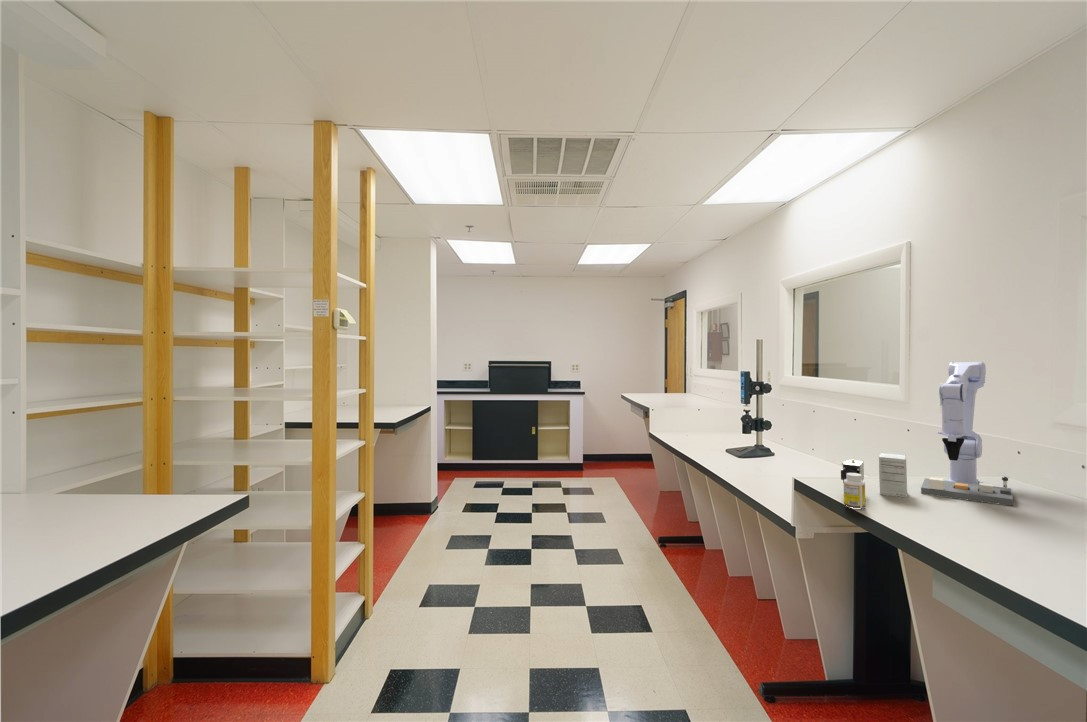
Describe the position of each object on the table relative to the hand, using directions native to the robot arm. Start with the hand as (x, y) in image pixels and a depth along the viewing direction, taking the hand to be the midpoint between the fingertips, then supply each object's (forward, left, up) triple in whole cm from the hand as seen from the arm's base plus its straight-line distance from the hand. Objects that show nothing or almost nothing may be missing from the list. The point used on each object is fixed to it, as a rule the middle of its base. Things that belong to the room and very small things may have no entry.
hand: (953, 460), depth 164 cm
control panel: (+2, +3, -10) cm, 11 cm away
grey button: (+3, +8, -9) cm, 12 cm away
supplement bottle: (+39, -22, -11) cm, 46 cm away
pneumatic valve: (+25, -25, -11) cm, 37 cm away
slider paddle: (+9, -4, -8) cm, 13 cm away
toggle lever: (+3, +13, -7) cm, 15 cm away
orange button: (+3, +2, -10) cm, 10 cm away
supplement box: (+15, -15, -11) cm, 24 cm away
